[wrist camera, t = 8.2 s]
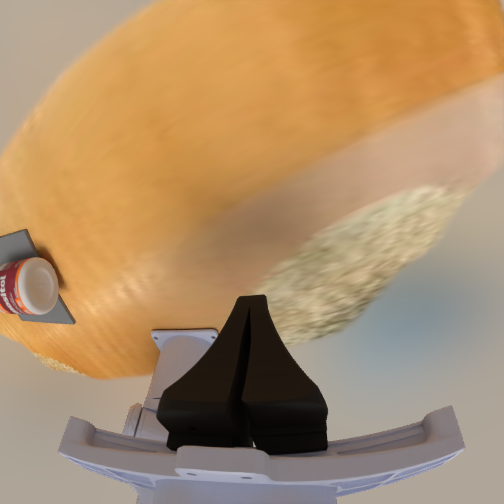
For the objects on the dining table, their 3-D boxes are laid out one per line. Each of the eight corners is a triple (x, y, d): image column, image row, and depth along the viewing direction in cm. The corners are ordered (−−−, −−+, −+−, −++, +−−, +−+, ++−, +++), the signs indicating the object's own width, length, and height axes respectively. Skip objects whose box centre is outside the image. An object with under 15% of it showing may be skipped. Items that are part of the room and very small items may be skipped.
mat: (75, 321, 31) (74, 324, 31) (23, 318, 33) (21, 320, 32) (26, 228, 24) (24, 231, 24) (-19, 242, 25) (-21, 244, 25)
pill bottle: (36, 325, 22) (-9, 322, 23) (67, 299, 27) (19, 301, 29) (13, 268, 20) (-27, 276, 21) (50, 248, 26) (4, 259, 27)
